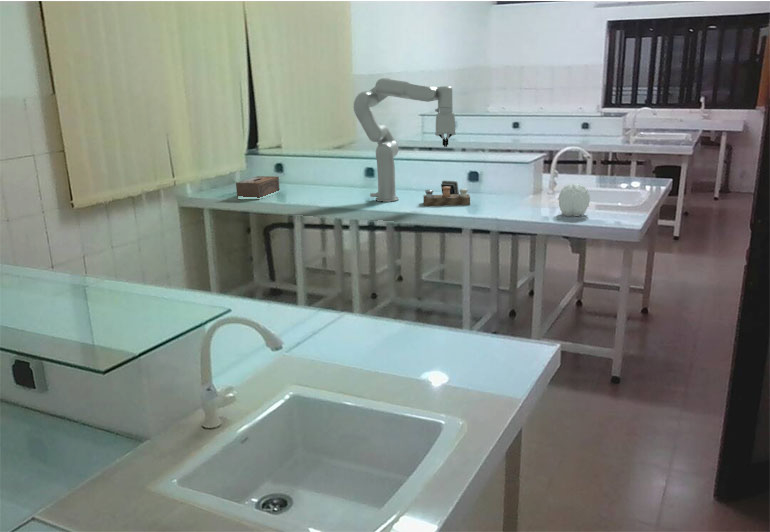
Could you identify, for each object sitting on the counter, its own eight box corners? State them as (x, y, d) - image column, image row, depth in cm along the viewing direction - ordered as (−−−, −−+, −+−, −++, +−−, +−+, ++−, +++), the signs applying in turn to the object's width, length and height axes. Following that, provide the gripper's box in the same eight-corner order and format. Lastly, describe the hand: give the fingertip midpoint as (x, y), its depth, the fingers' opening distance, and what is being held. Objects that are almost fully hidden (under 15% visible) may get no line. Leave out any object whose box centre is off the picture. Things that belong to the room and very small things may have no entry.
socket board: (423, 206, 340) (423, 198, 339) (423, 202, 350) (423, 195, 349) (470, 204, 339) (470, 197, 338) (468, 201, 349) (468, 194, 348)
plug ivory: (459, 203, 342) (459, 190, 340) (459, 202, 346) (459, 188, 344) (467, 203, 342) (467, 189, 340) (467, 201, 346) (467, 188, 344)
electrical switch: (459, 196, 363) (458, 180, 360) (455, 199, 359) (454, 182, 356) (444, 195, 368) (443, 179, 365) (440, 198, 364) (439, 181, 361)
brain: (557, 229, 311) (556, 203, 298) (560, 202, 321) (559, 176, 308) (588, 230, 306) (588, 204, 293) (590, 202, 317) (591, 176, 304)
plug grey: (425, 204, 343) (425, 191, 341) (425, 202, 347) (425, 189, 345) (433, 204, 343) (433, 190, 341) (433, 202, 347) (433, 189, 345)
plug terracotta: (442, 201, 342) (442, 187, 340) (442, 199, 346) (442, 186, 344) (450, 200, 342) (450, 187, 340) (450, 199, 346) (450, 186, 344)
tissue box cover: (258, 192, 403) (257, 176, 400) (279, 192, 398) (278, 176, 396) (237, 200, 379) (235, 182, 376) (259, 200, 375) (258, 183, 372)
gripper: (430, 111, 335) (431, 147, 340) (460, 110, 334) (460, 147, 339) (430, 111, 342) (431, 146, 347) (459, 110, 342) (459, 145, 347)
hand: (445, 146), depth 343 cm, fingers closed
